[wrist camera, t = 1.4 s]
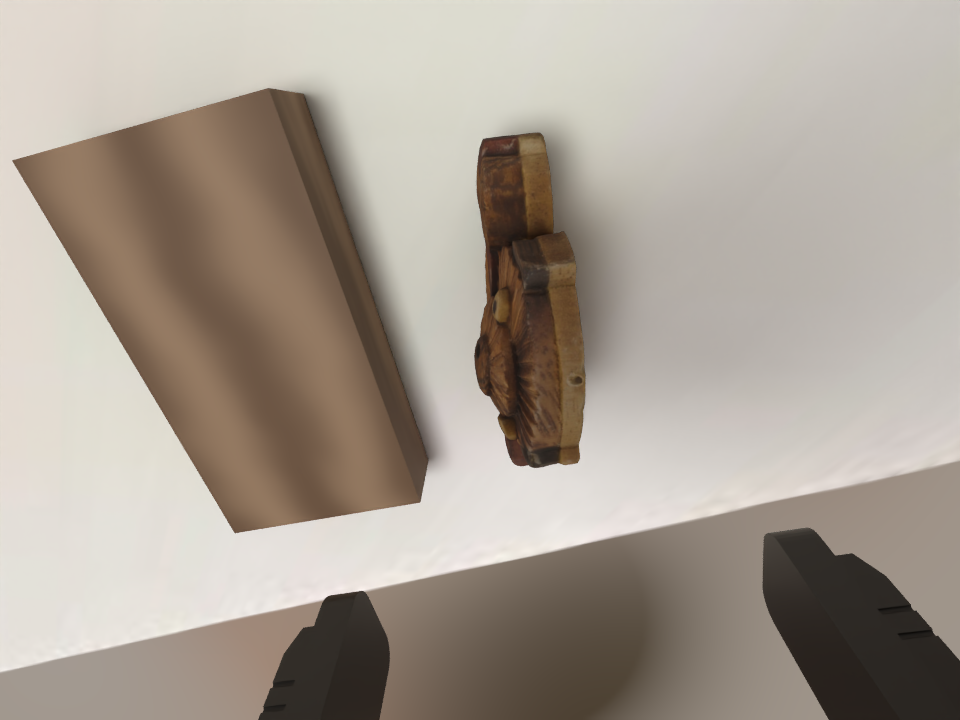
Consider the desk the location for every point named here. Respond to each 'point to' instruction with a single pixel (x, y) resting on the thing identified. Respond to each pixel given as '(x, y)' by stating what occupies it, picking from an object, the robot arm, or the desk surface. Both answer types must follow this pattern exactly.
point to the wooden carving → (528, 307)
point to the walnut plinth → (241, 305)
